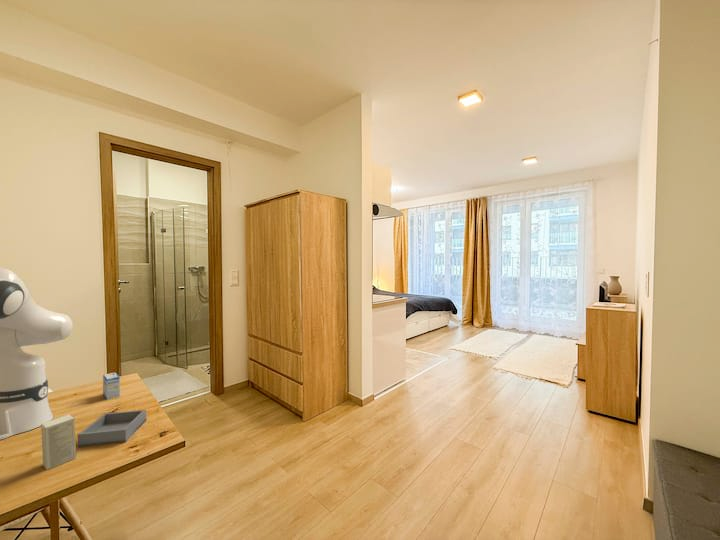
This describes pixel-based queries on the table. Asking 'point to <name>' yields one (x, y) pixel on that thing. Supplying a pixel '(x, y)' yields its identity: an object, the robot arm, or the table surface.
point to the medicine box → (111, 385)
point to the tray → (112, 428)
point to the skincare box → (58, 441)
